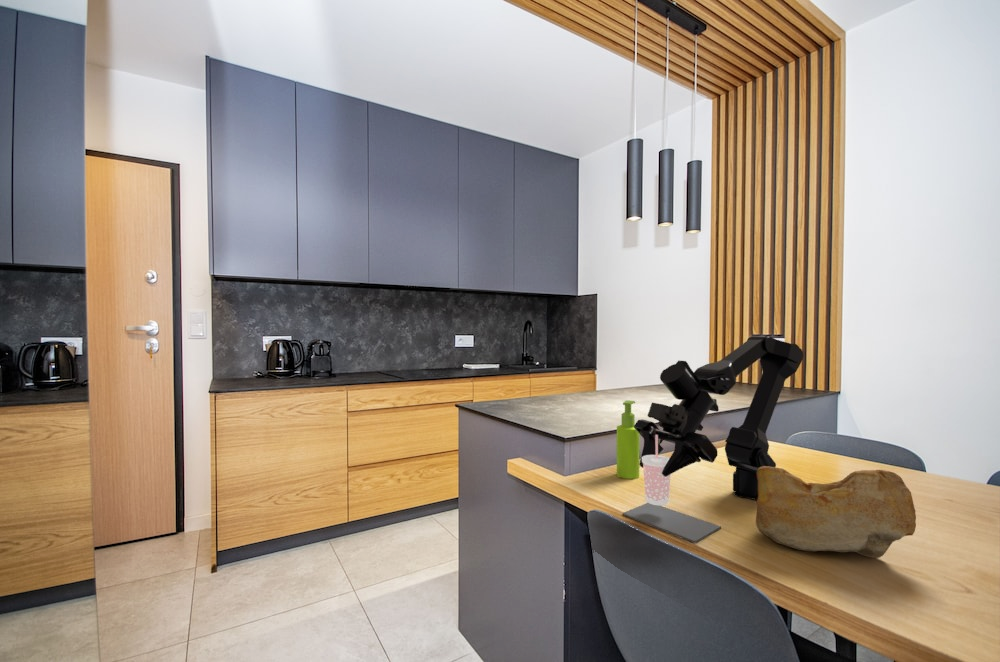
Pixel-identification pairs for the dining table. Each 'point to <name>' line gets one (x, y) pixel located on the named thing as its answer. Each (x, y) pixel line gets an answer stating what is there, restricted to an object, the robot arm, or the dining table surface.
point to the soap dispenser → (627, 445)
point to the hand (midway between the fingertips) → (651, 470)
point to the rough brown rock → (835, 511)
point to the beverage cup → (656, 478)
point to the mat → (673, 522)
